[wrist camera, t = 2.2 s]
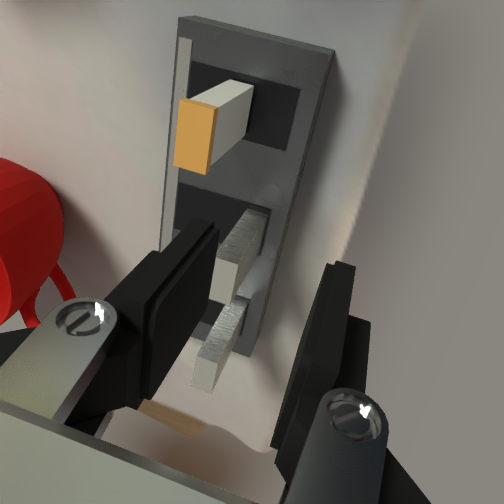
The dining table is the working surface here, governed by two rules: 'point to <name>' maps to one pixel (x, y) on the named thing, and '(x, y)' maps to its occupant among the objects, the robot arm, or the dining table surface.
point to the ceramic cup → (28, 241)
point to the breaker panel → (242, 173)
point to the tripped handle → (211, 125)
